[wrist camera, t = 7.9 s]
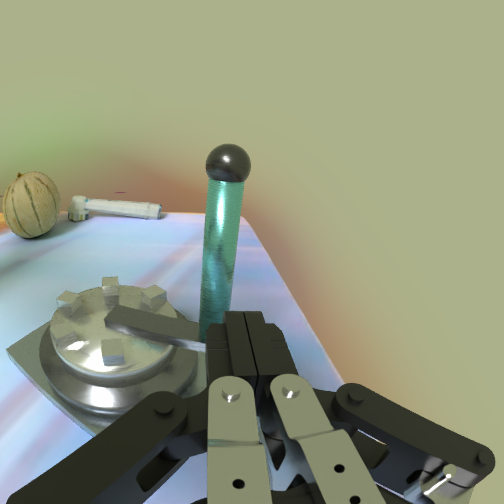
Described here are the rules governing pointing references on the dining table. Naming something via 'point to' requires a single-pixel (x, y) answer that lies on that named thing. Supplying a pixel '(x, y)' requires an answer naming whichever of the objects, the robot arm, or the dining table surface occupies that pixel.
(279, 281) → the dining table surface
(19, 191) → the cantaloupe
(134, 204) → the beige piece
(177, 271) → the dining table surface
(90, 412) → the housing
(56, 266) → the dining table surface
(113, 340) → the crank handle wheel
